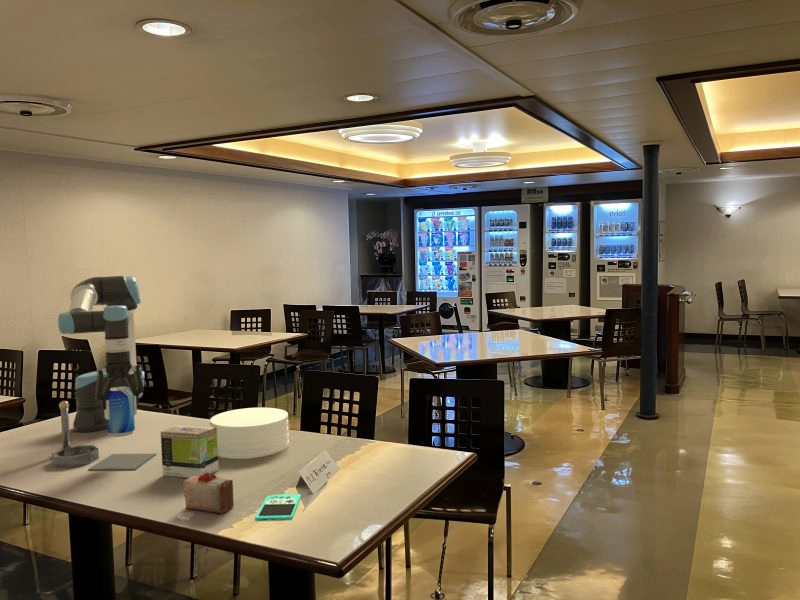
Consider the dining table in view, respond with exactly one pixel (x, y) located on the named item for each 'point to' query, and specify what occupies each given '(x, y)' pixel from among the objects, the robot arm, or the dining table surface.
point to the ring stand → (72, 454)
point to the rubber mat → (122, 462)
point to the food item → (208, 493)
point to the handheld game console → (278, 507)
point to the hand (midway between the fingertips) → (121, 416)
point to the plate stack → (251, 432)
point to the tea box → (189, 450)
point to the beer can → (121, 412)
